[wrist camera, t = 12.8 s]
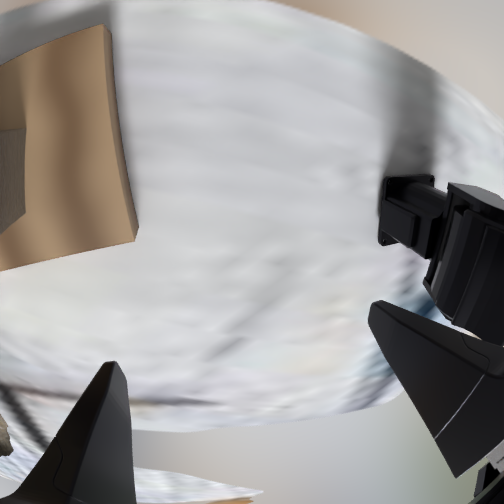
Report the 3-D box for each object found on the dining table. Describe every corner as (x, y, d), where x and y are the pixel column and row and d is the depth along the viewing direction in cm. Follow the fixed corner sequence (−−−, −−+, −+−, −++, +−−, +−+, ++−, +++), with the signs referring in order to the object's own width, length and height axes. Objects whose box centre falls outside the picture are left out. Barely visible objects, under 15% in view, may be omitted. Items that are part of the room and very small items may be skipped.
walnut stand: (111, 33, 13) (103, 23, 11) (138, 226, 20) (134, 241, 17) (-66, 122, 10) (-83, 126, 8) (-31, 268, 16) (-44, 282, 14)
